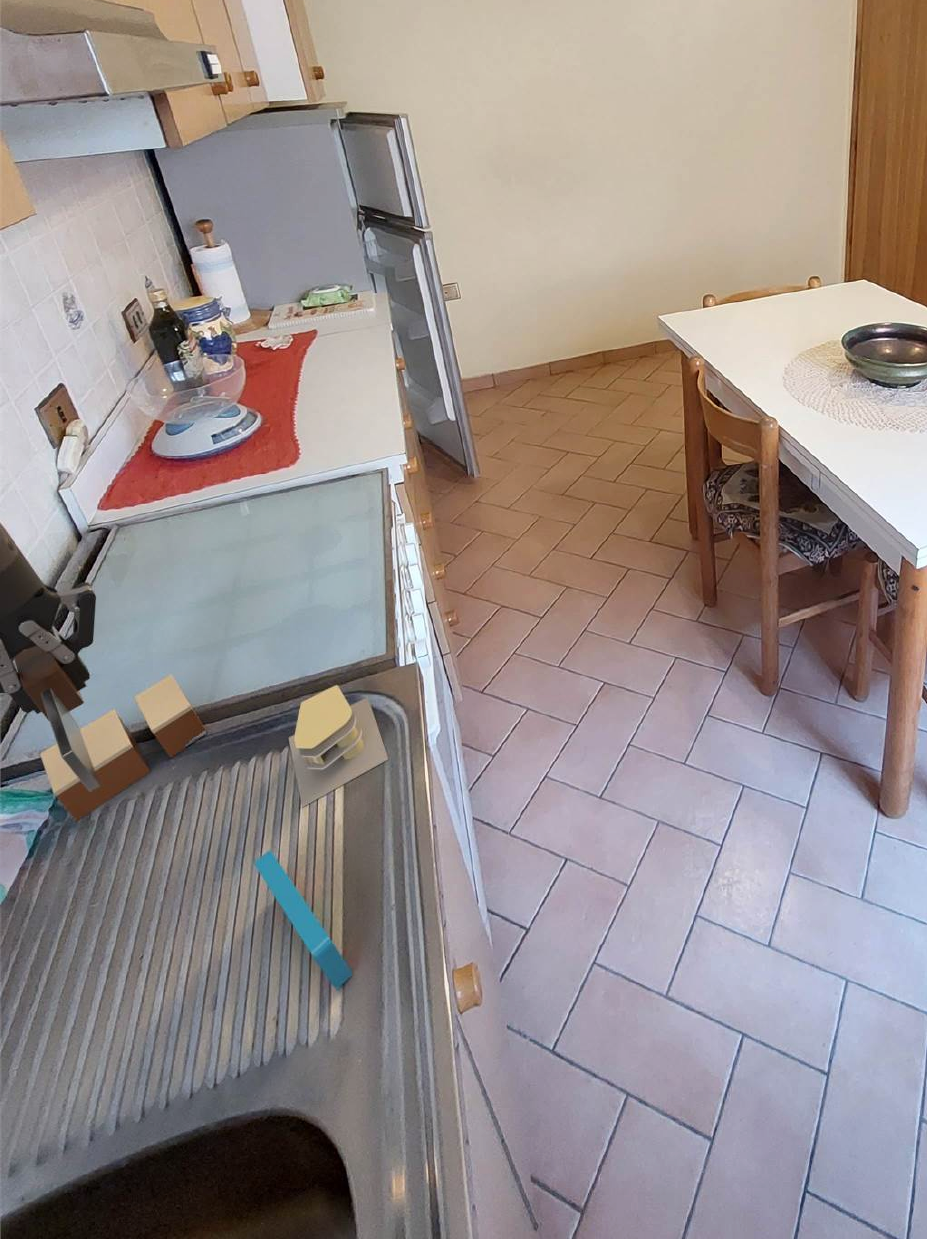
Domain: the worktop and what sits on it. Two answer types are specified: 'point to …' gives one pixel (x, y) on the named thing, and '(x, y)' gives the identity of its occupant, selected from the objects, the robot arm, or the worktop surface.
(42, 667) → the knife
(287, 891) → the long teal plank
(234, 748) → the worktop surface
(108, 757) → the cake
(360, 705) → the stacked layers on plate
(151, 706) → the cream topped brown block
